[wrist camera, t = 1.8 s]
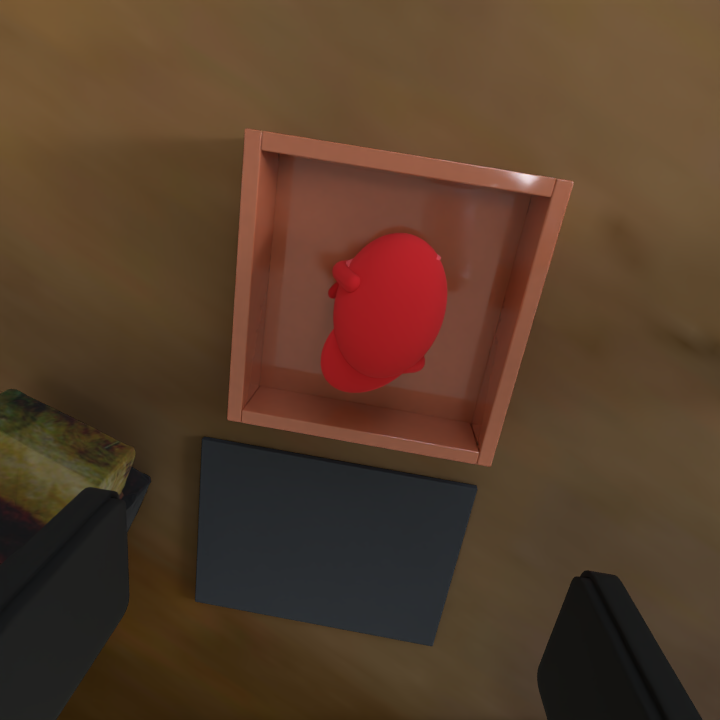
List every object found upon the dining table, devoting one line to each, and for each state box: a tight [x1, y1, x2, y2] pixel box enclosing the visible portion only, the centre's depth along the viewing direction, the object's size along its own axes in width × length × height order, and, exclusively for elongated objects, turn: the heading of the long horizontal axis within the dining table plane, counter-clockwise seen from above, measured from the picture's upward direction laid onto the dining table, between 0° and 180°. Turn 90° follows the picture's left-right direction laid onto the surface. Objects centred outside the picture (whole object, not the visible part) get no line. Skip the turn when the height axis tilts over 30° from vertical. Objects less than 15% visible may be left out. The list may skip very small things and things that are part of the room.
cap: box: [321, 233, 447, 393], centre depth 23 cm, size 8×6×6 cm
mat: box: [195, 437, 477, 646], centre depth 32 cm, size 18×14×1 cm
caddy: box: [227, 128, 574, 467], centre depth 25 cm, size 15×15×4 cm
